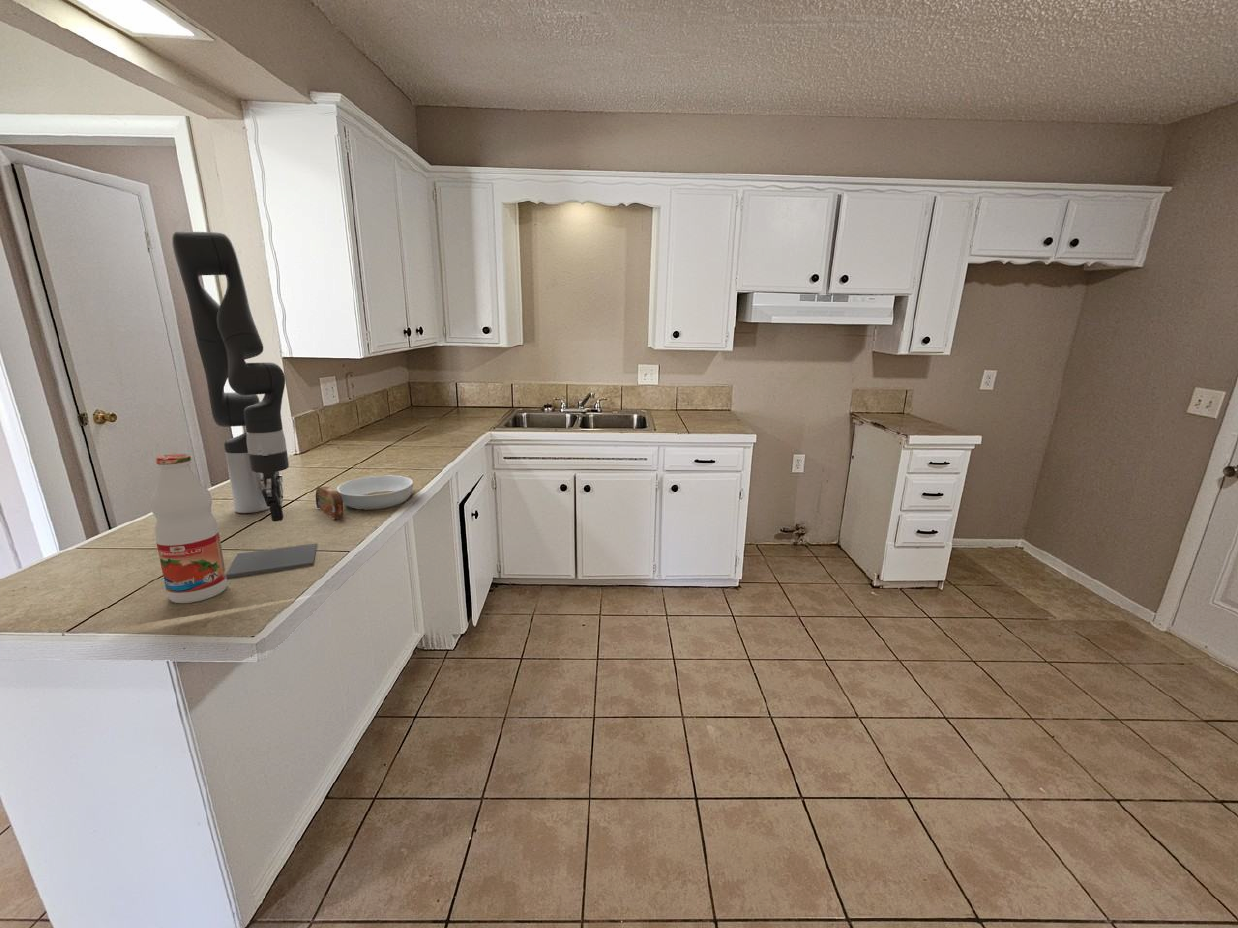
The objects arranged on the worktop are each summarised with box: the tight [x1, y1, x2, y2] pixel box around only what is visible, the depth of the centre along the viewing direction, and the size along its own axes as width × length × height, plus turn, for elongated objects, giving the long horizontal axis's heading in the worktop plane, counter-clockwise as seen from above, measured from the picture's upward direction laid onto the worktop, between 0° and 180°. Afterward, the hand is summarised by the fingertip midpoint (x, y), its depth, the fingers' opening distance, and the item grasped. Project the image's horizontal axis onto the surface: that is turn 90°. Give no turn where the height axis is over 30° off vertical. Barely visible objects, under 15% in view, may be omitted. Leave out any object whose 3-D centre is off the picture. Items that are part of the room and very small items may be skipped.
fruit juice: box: [149, 453, 228, 604], centre depth 100 cm, size 9×9×28 cm
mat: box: [226, 542, 318, 579], centre depth 118 cm, size 12×16×1 cm
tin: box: [315, 486, 344, 521], centre depth 146 cm, size 15×3×8 cm, turn 47°
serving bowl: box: [336, 474, 414, 511], centre depth 157 cm, size 21×21×7 cm
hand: (277, 520), depth 125 cm, fingers closed
